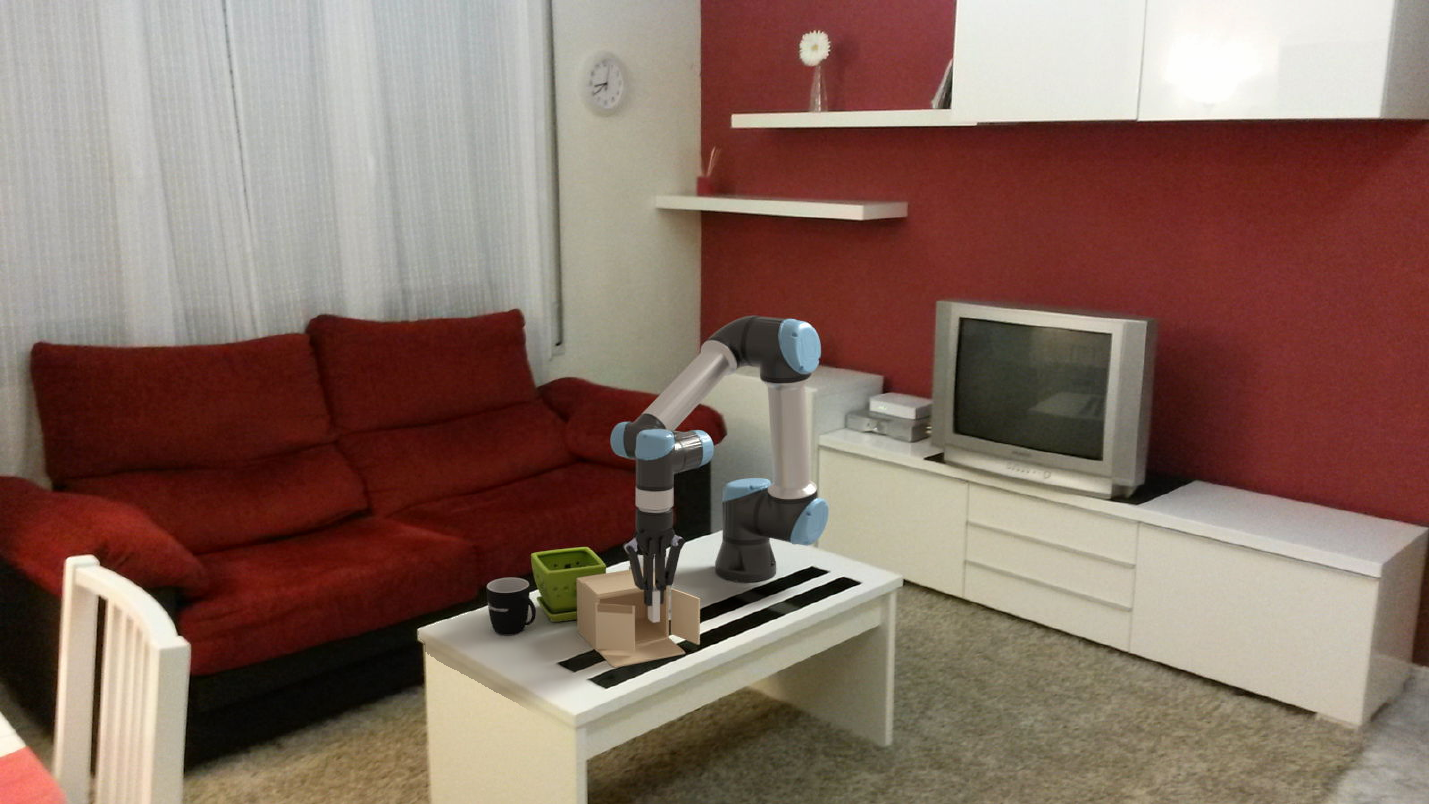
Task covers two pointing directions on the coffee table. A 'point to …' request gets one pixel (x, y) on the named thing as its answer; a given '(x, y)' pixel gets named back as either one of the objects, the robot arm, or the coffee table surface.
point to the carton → (637, 617)
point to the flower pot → (563, 579)
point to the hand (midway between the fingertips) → (653, 619)
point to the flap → (615, 627)
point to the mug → (509, 605)
